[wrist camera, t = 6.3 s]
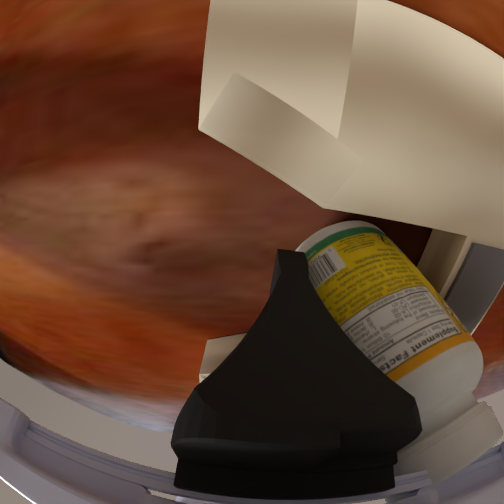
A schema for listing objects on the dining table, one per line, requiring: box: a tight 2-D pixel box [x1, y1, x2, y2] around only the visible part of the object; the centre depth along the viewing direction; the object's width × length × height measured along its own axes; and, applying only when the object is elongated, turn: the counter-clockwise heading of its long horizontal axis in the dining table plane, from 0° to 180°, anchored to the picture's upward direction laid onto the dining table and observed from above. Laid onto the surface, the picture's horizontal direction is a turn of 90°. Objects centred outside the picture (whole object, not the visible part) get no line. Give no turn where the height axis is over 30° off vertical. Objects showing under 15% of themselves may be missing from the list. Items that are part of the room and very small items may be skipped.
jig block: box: [199, 0, 504, 383], centre depth 12 cm, size 22×14×3 cm, turn 174°
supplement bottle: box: [295, 221, 503, 503], centre depth 9 cm, size 5×5×10 cm
